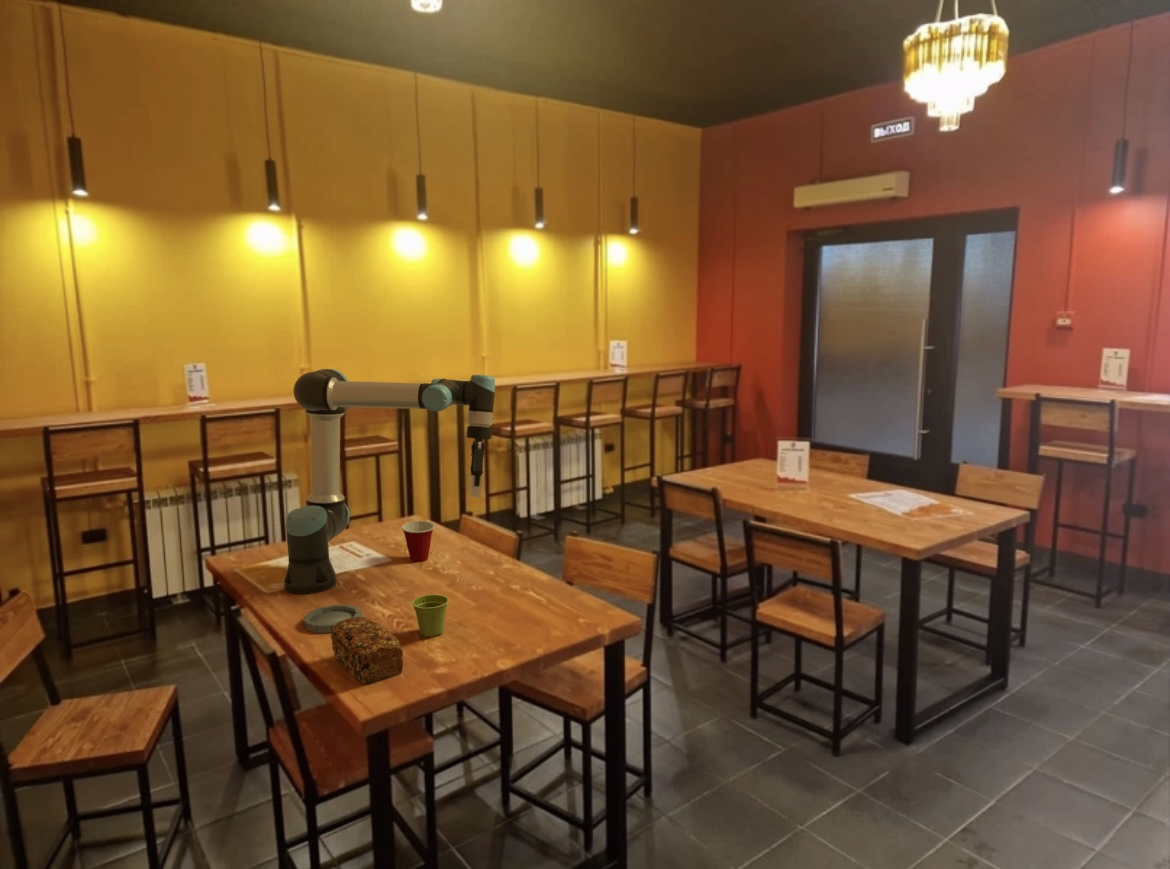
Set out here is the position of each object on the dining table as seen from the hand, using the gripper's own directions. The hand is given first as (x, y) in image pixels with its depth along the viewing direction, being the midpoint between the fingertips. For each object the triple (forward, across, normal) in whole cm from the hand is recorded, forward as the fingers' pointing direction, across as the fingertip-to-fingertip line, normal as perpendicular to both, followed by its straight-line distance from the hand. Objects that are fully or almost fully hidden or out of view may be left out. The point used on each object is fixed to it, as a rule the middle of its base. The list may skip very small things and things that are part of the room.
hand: (474, 495), depth 239 cm
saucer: (+34, -21, +36) cm, 54 cm away
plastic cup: (+25, +27, +15) cm, 40 cm away
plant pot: (+34, -34, +10) cm, 49 cm away
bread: (+38, -50, +25) cm, 67 cm away
